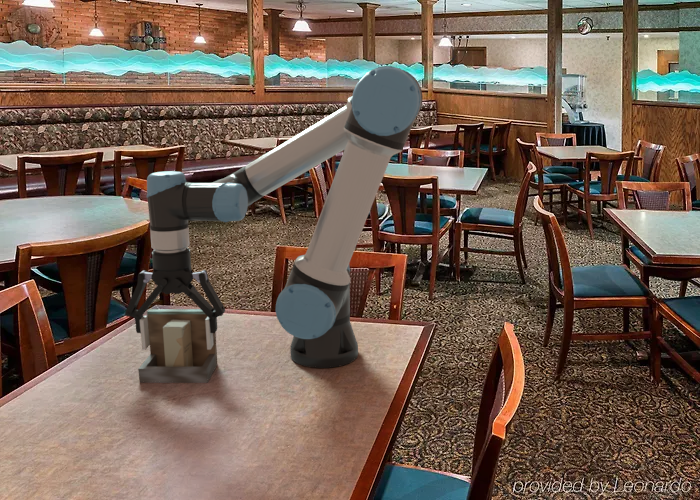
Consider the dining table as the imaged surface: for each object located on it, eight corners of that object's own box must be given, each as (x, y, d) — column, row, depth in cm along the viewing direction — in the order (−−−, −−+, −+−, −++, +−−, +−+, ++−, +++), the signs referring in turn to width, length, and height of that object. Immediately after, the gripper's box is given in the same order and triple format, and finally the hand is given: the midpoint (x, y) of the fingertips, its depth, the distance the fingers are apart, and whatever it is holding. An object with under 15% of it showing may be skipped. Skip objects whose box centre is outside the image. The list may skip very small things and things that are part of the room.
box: (185, 378, 141) (181, 327, 139) (165, 377, 142) (161, 327, 139) (194, 368, 146) (190, 319, 144) (175, 367, 147) (171, 318, 144)
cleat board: (217, 364, 148) (214, 309, 145) (207, 382, 139) (203, 324, 136) (153, 364, 148) (149, 309, 146) (139, 382, 139) (134, 324, 136)
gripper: (235, 244, 141) (240, 340, 146) (116, 244, 142) (125, 340, 147) (228, 252, 134) (233, 353, 139) (102, 253, 134) (112, 353, 139)
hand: (178, 347), depth 143 cm, fingers open, 13 cm apart
